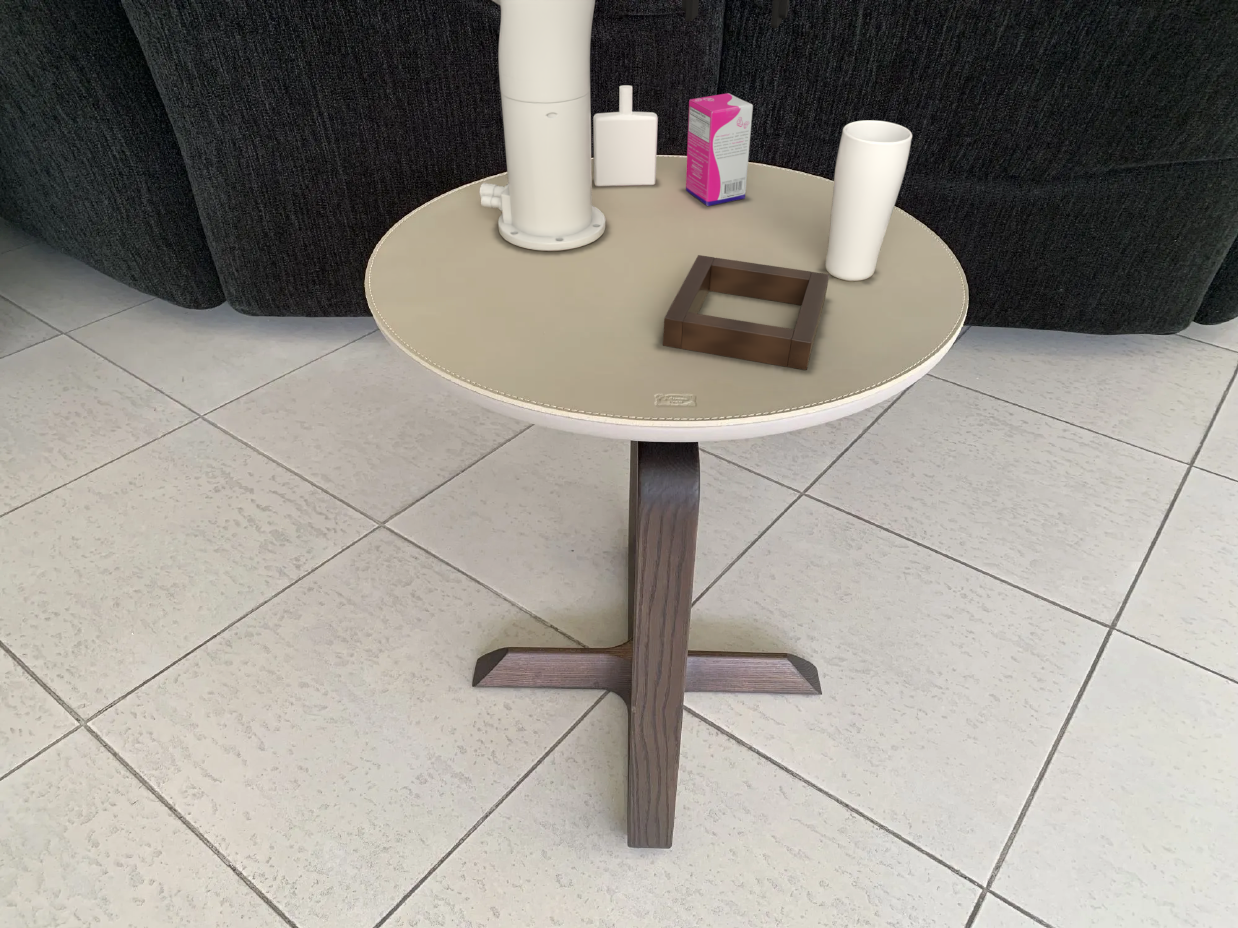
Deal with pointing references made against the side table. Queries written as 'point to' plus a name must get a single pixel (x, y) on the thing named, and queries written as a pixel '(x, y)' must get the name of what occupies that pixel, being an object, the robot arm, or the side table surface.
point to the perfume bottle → (625, 145)
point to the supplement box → (718, 148)
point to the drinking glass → (864, 195)
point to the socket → (742, 336)
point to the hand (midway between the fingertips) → (733, 22)
